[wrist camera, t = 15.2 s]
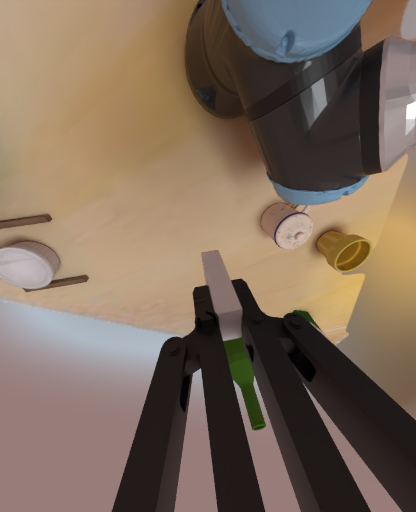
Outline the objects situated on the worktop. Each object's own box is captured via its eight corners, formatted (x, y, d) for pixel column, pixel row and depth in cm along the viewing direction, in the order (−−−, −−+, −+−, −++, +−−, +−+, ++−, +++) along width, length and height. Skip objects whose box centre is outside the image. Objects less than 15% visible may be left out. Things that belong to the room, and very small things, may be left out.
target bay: (-27, 224, 37) (-34, 227, 36) (49, 214, 38) (44, 216, 37) (30, 288, 47) (26, 292, 46) (88, 278, 48) (86, 281, 47)
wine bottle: (226, 316, 67) (262, 434, 40) (206, 311, 63) (230, 436, 36) (240, 301, 63) (288, 419, 36) (219, 294, 60) (255, 419, 33)
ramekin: (22, 227, 39) (3, 237, 35) (73, 256, 44) (62, 269, 40) (-1, 257, 42) (-22, 271, 37) (50, 282, 47) (37, 296, 43)
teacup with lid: (275, 239, 51) (299, 261, 41) (252, 225, 47) (272, 245, 38) (306, 203, 47) (340, 218, 37) (283, 184, 43) (315, 196, 33)
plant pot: (347, 222, 52) (380, 236, 44) (337, 251, 58) (363, 269, 49) (315, 227, 51) (341, 243, 43) (307, 256, 57) (329, 275, 49)
